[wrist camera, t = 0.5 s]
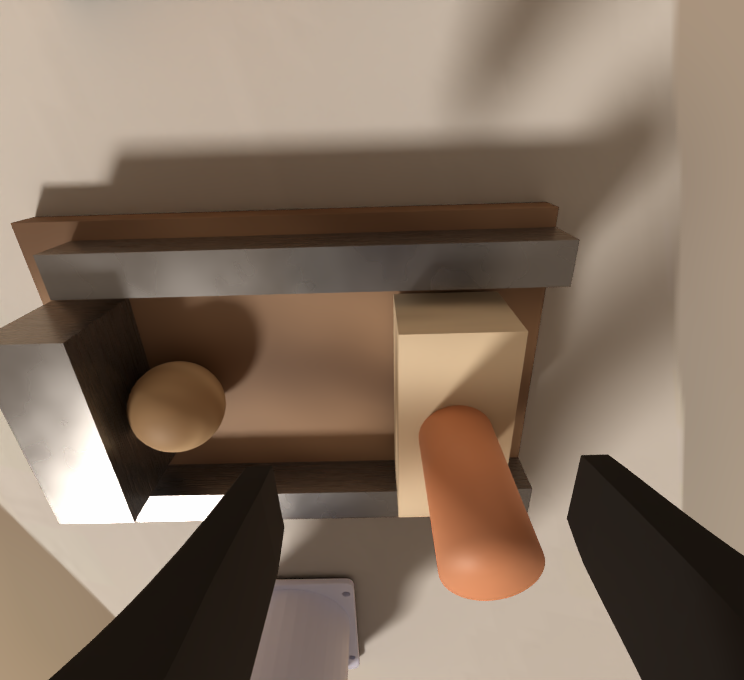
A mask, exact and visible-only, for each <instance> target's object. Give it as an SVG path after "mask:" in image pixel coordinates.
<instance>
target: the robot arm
mask: <svg viewBox="0 0 744 680" xmlns="http://www.w3.org/2000/svg"><path fill="white" fill-rule="evenodd" d="M567 520H568V523H569V526H570V529H571V531H572V534H573V537H574V540H575V543H576V545H577V548H578V551H579V553H580V556H581V558H582V561H583V564H584V566H585V568H586V570H587V572H588V574H589V576H590V578H591V580H592V582H593V584H594V586H595V588H596V590H597V592H598V594H599V596H600V598H601V600H602V602H603V604H604V606H605V608H606V610H607V612H608V614H609V616H610V618H611V620H612V622H613V624H614V626H615V628H616V629H617V631H618V633H619V635H620V637H621V639H622V641H623V643H624V645H625V647H626V649H627V651H628V653H629V655H630V657H631V659H632V661H633V663H634V665H635V667H636V669H637V671H638V673H639V675H640V677H641V679H642V680H744V556H743V555H742V554H740V553H739V552H737V551H736V550H735V549H733V548H732V547H730V546H729V545H728V544H726V543H725V542H723V541H722V540H721V539H719V538H718V537H716V536H715V535H714V534H712V533H711V532H709V531H708V530H707V529H705V528H704V527H703V526H701V525H700V524H699V523H697V522H696V521H695V520H693V519H692V518H691V517H689V516H688V515H687V514H685V513H684V512H683V511H681V510H680V509H679V508H677V507H676V506H675V505H673V504H672V503H671V502H669V501H668V500H667V499H666V498H664V497H663V496H662V495H660V494H659V493H658V492H657V491H655V490H654V489H653V488H651V487H650V486H649V485H647V484H646V483H645V482H644V481H642V480H641V479H640V478H638V477H637V476H636V475H634V474H633V473H632V472H631V471H629V470H628V469H627V468H625V467H624V466H623V465H621V464H620V463H619V462H617V461H616V460H615V459H613V458H612V457H611V456H609V455H581V458H580V463H579V467H578V472H577V476H576V480H575V485H574V489H573V494H572V498H571V502H570V507H569V511H568V516H567ZM283 533H284V523H283V518H282V513H281V507H280V502H279V497H278V492H277V487H276V482H275V476H274V471H273V466H253V467H246V468H245V469H244V470H243V471H242V472H241V474H240V475H239V476H238V478H237V479H236V480H235V481H234V483H233V484H232V485H231V487H230V488H229V489H228V491H227V492H226V493H225V494H224V496H223V497H222V498H221V500H220V501H219V502H218V503H217V505H216V506H215V507H214V508H213V510H212V511H211V512H210V513H209V515H208V516H207V517H206V518H205V520H204V521H203V522H202V523H201V524H200V526H199V527H198V528H197V529H196V530H195V532H194V533H193V534H192V535H191V536H190V538H189V539H188V540H187V541H186V542H185V544H184V545H183V546H182V547H181V548H180V549H179V551H178V552H177V553H176V554H175V555H174V556H173V557H172V558H171V559H170V561H169V562H168V563H167V564H166V565H165V566H164V567H163V568H162V569H161V571H160V572H159V573H158V574H157V575H156V576H155V577H154V578H153V579H152V580H151V582H150V583H149V584H148V585H147V586H146V587H145V588H144V589H143V590H142V591H141V592H140V593H139V594H138V595H137V596H136V597H135V598H134V600H133V601H132V602H131V603H130V604H129V605H128V606H127V607H126V608H125V609H124V610H123V611H122V612H121V613H120V614H119V615H118V616H117V617H116V618H115V619H114V620H113V621H112V622H111V623H109V624H108V626H106V627H105V628H104V629H103V630H102V631H101V632H100V633H99V634H98V635H97V636H96V637H95V638H94V639H93V640H92V641H91V642H90V643H89V644H87V646H86V647H84V648H83V649H82V650H81V651H80V652H79V653H78V654H77V655H75V657H73V658H72V659H71V660H70V661H69V662H68V663H67V664H66V665H65V666H63V667H62V668H61V669H60V670H59V671H58V672H57V673H56V674H54V675H53V676H52V677H51V678H50V679H49V680H348V669H355V668H357V667H359V664H360V658H359V645H358V631H357V618H356V605H355V591H354V582H353V581H352V580H351V579H348V578H332V579H276V577H277V573H278V567H279V561H280V554H281V548H282V540H283Z"/></svg>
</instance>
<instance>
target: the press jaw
mask: <svg viewBox="0 0 744 680" xmlns="http://www.w3.org/2000/svg"><path fill="white" fill-rule="evenodd" d="M393 314H394V457H395V471H396V486H397V501H398V516H399V517H430V520H431V527H432V533H433V540H434V547H435V554H436V560H437V567H438V574H439V578H440V580H441V582H442V583H443V585H444V586H445V587H446V588H447V589H448V590H450V591H451V592H452V593H454V594H456V595H458V596H461V597H464V598H467V599H472V600H479V601H490V600H499V599H504V598H508V597H511V596H514V595H516V594H519V593H521V592H523V591H524V590H526V589H528V588H529V587H530V586H532V585H533V584H534V583H535V582H536V581H537V580H538V579H539V577H540V576H541V574H542V572H543V570H544V566H545V557H544V554H543V551H542V549H541V546H540V544H539V541H538V539H537V536H536V534H535V531H534V529H533V526H532V524H531V521H530V519H529V516H528V514H527V511H526V509H525V506H524V504H523V501H522V499H521V496H520V494H519V491H518V489H517V486H516V484H515V481H514V479H513V477H512V474H511V472H510V469H509V467H508V462H509V456H510V449H511V443H512V436H513V429H514V423H515V416H516V409H517V403H518V396H519V390H520V383H521V376H522V370H523V363H524V357H525V350H526V343H527V337H528V330H527V329H526V328H525V327H524V325H523V324H522V323H521V321H520V320H519V319H518V317H517V316H516V315H515V314H514V312H513V311H512V310H511V308H510V307H509V306H508V304H507V303H506V302H505V300H504V299H503V298H502V297H501V295H500V294H499V293H498V291H489V292H452V293H414V294H393Z"/></svg>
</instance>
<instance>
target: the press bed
mask: <svg viewBox="0 0 744 680" xmlns="http://www.w3.org/2000/svg"><path fill="white" fill-rule="evenodd" d="M558 210H559V207H557V206H555V205H552V204H550V203H548V202H533V203H499V204H465V205H431V206H396V207H362V208H328V209H294V210H259V211H225V212H191V213H157V214H122V215H88V216H54V217H32V218H29V219H25V220H21V221H17V222H13V223H11V225H12V228H13V230H14V233H15V235H16V238H17V240H18V243H19V245H20V248H21V250H22V253H23V255H24V258H25V260H26V263H27V265H28V268H29V270H30V273H31V275H32V278H33V280H34V282H35V285H36V287H37V290H38V292H39V295H40V297H41V300H42V302H43V306H41V307H39V308H37V309H35V310H33V311H32V312H30V313H28V314H26V315H24V316H22V317H20V318H19V319H17V320H15V321H13V322H11V323H9V324H7V325H6V326H4V327H2V328H0V409H1V411H2V412H3V414H4V416H5V418H6V420H7V422H8V424H9V426H10V428H11V430H12V432H13V434H14V436H15V438H16V440H17V442H18V444H19V446H20V448H21V450H22V452H23V454H24V455H25V457H26V459H27V461H28V463H29V465H30V467H31V469H32V471H33V473H34V475H35V477H36V479H37V481H38V483H39V485H40V487H41V489H42V491H43V493H44V495H45V497H46V498H47V500H48V502H49V504H50V506H51V508H52V510H53V512H54V514H55V516H56V518H57V520H58V522H59V524H83V523H134V522H135V520H136V519H137V522H164V521H204V520H205V518H206V517H207V516H208V515H209V513H210V512H211V511H212V510H213V508H214V507H215V506H216V505H217V503H218V502H219V501H220V500H221V498H222V497H223V496H224V494H225V493H226V492H227V491H228V489H229V488H230V487H231V485H232V484H233V483H234V481H235V480H236V479H237V478H238V476H239V475H240V474H241V472H242V471H243V470H244V469H245V468H246V467H253V466H273V471H274V476H275V482H276V487H277V492H278V497H279V502H280V507H281V513H282V518H283V519H318V518H369V517H399V516H398V501H397V486H396V471H395V457H394V314H393V294H414V293H452V292H489V291H498V293H499V294H500V295H501V297H502V298H503V299H504V300H505V302H506V303H507V304H508V306H509V307H510V308H511V310H512V311H513V312H514V314H515V315H516V316H517V317H518V319H519V320H520V321H521V323H522V324H523V325H524V327H525V328H526V329H527V330H528V337H527V343H526V350H525V357H524V363H523V370H522V376H521V383H520V390H519V396H518V403H517V409H516V416H515V423H514V429H513V436H512V443H511V449H510V456H509V462H508V467H509V469H510V472H511V474H512V477H513V479H514V481H515V484H516V486H517V489H518V491H519V494H520V496H521V499H522V501H523V504H524V506H525V509H526V511H527V512H528V507H529V502H530V496H531V491H532V488H531V485H530V483H529V481H528V479H527V476H526V474H525V472H524V470H523V467H522V465H521V463H520V461H519V458H518V454H519V448H520V442H521V436H522V430H523V424H524V418H525V412H526V406H527V399H528V393H529V387H530V381H531V375H532V369H533V363H534V357H535V350H536V344H537V338H538V332H539V326H540V320H541V314H542V308H543V301H544V295H545V289H546V287H571V281H572V276H573V271H574V266H575V260H576V255H577V250H578V245H579V239H577V238H575V237H573V236H571V235H570V234H568V233H566V232H564V231H562V230H560V229H558V228H557V227H556V222H557V216H558Z"/></svg>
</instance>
